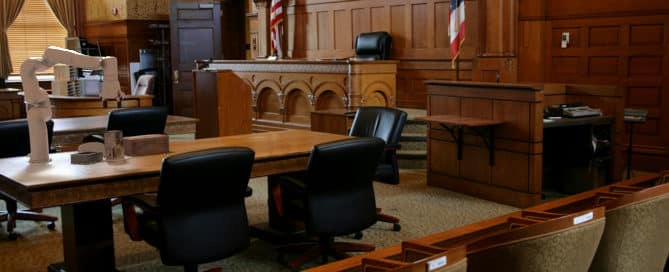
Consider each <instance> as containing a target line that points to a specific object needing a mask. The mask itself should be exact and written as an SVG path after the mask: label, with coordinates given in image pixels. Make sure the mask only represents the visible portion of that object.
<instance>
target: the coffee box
mask: <svg viewBox="0 0 669 272" xmlns="http://www.w3.org/2000/svg"><path fill="white" fill-rule="evenodd" d="M123 137H124V132H123V130H119V129H118V130H117V129H116V130H108V131H104V132H103V138H104V139H103V142H104V147H105V157H104V159H106V160H116V159H121V158H124V157H125V154H124V143H123Z"/></svg>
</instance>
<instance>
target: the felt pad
mask: <svg viewBox="0 0 669 272" xmlns="http://www.w3.org/2000/svg"><path fill="white" fill-rule="evenodd" d="M127 160H131V157H127V156H124V158H121V159H116V160H106V159H105V158H103V159H102V160H100V161H99V162H122V161H127Z"/></svg>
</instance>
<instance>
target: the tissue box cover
mask: <svg viewBox="0 0 669 272" xmlns="http://www.w3.org/2000/svg"><path fill="white" fill-rule="evenodd" d="M123 143H124V155H127V156H131V157H132V156H138V155H147V154H148V155H149V154H158V153H165V152H170V135H167V134H159V133H157V134H145V135H136V136H123Z"/></svg>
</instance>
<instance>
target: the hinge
mask: <svg viewBox="0 0 669 272" xmlns="http://www.w3.org/2000/svg"><path fill="white" fill-rule="evenodd" d="M85 151H99V152H103V156H105V143H102V142H97V141H96V142H95V141H94V142H93V141H92V142H85V143H83V144H80V145H78V147H77V153H80V152H85Z"/></svg>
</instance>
